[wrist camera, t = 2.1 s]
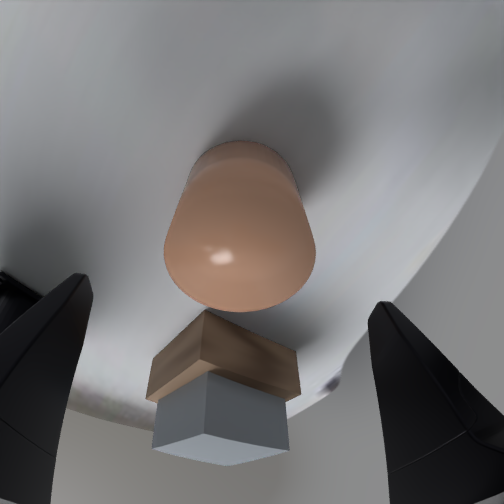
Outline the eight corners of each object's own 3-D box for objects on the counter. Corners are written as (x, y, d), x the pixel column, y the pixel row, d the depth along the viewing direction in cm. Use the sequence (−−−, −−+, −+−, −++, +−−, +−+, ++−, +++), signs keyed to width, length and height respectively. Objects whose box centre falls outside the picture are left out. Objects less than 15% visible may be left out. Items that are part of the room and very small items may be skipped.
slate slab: (158, 400, 20) (151, 448, 17) (207, 370, 17) (203, 433, 14) (227, 422, 22) (227, 465, 19) (284, 398, 20) (289, 450, 16)
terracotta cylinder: (168, 201, 14) (140, 271, 10) (229, 118, 12) (221, 159, 8) (250, 252, 16) (252, 328, 12) (317, 184, 14) (345, 250, 10)
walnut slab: (153, 355, 23) (145, 399, 20) (205, 306, 19) (199, 359, 16) (233, 386, 26) (232, 425, 23) (295, 347, 22) (301, 394, 19)
